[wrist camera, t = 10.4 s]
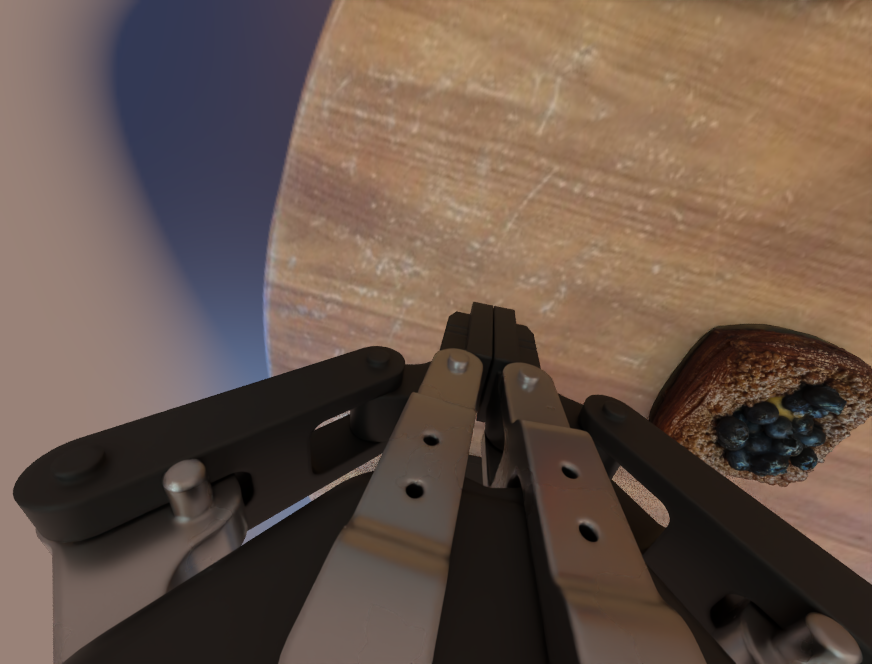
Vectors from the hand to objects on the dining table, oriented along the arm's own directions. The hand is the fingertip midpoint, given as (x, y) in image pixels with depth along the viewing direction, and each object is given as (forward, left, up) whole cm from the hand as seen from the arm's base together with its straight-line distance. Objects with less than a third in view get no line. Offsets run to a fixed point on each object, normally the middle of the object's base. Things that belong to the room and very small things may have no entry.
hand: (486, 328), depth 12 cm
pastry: (+21, -8, -13) cm, 26 cm away
